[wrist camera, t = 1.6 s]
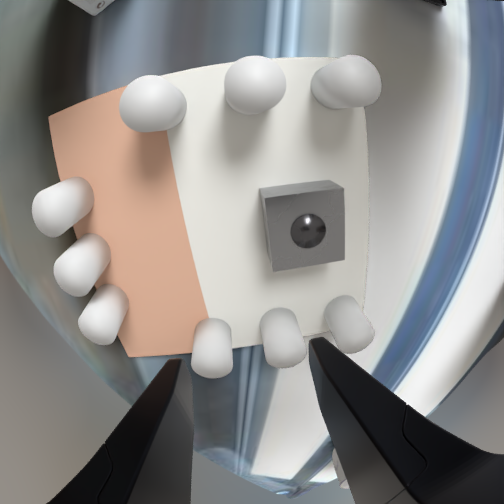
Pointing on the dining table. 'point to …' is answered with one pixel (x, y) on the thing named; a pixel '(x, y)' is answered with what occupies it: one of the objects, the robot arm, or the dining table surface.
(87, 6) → the skincare box
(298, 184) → the nut
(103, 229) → the board
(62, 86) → the dining table surface
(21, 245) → the dining table surface
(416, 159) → the dining table surface
